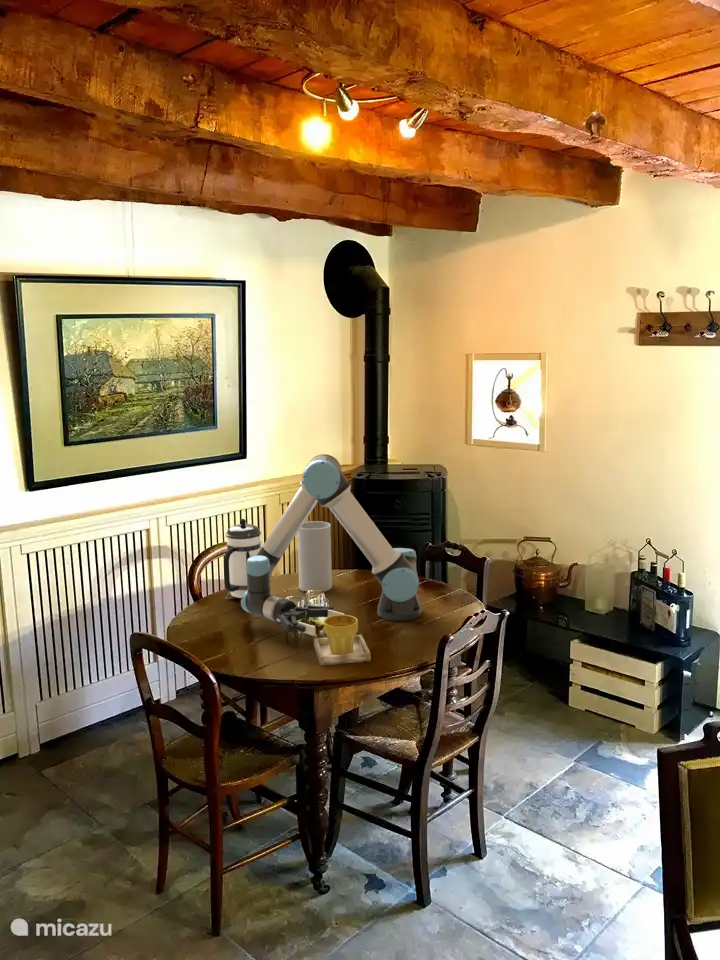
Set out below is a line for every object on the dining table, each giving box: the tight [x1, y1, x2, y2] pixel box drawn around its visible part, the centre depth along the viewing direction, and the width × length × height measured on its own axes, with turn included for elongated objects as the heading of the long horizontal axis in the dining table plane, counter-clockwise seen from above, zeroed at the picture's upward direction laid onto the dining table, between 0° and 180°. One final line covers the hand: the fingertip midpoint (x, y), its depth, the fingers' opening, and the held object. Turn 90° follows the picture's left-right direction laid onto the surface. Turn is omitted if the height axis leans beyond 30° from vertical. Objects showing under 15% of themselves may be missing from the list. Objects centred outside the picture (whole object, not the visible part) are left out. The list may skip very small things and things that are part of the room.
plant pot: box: [323, 614, 359, 655], centre depth 234 cm, size 10×10×10 cm
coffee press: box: [223, 518, 262, 600], centre depth 284 cm, size 17×16×30 cm
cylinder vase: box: [297, 520, 333, 593], centre depth 295 cm, size 12×12×25 cm
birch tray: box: [313, 634, 372, 666], centre depth 235 cm, size 15×15×2 cm
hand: (329, 624), depth 236 cm, fingers open, 13 cm apart
